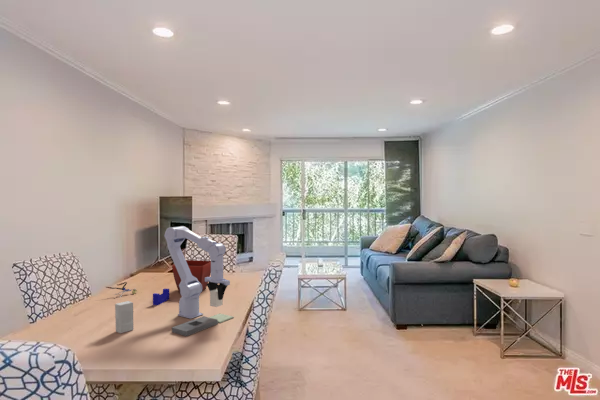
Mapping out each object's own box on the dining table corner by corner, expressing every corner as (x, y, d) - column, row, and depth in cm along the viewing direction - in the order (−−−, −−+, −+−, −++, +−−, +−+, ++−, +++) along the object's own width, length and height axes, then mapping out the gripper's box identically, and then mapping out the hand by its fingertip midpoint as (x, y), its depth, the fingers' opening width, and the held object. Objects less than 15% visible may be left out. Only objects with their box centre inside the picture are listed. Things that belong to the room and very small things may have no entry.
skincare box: (128, 327, 171) (128, 300, 170) (133, 329, 168) (133, 302, 168) (115, 331, 166) (114, 303, 166) (119, 333, 163) (119, 305, 163)
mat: (206, 319, 182) (206, 318, 182) (219, 314, 189) (219, 313, 189) (220, 323, 177) (220, 321, 177) (233, 317, 184) (233, 316, 184)
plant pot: (213, 287, 245) (213, 260, 245) (202, 294, 226) (202, 266, 226) (184, 286, 247) (184, 259, 247) (171, 294, 228) (171, 265, 228)
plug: (210, 305, 180) (210, 290, 180) (216, 303, 184) (216, 288, 184) (216, 307, 178) (216, 291, 178) (222, 305, 181) (222, 290, 181)
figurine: (138, 306, 226) (101, 302, 216) (137, 298, 234) (101, 293, 224) (143, 291, 224) (106, 286, 214) (143, 283, 232) (107, 278, 222)
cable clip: (161, 299, 218) (161, 288, 218) (169, 299, 217) (169, 288, 217) (150, 305, 206) (150, 293, 206) (158, 305, 205) (158, 294, 205)
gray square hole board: (171, 332, 165) (171, 327, 165) (203, 320, 180) (203, 316, 180) (186, 336, 160) (186, 331, 160) (217, 324, 176) (217, 319, 175)
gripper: (199, 269, 182) (199, 298, 182) (222, 272, 174) (222, 303, 174) (211, 266, 188) (211, 294, 188) (233, 270, 180) (233, 299, 180)
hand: (217, 298), depth 181 cm, fingers closed on plug, 4 cm apart
